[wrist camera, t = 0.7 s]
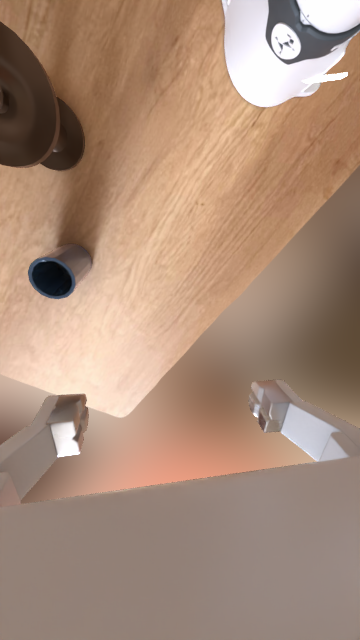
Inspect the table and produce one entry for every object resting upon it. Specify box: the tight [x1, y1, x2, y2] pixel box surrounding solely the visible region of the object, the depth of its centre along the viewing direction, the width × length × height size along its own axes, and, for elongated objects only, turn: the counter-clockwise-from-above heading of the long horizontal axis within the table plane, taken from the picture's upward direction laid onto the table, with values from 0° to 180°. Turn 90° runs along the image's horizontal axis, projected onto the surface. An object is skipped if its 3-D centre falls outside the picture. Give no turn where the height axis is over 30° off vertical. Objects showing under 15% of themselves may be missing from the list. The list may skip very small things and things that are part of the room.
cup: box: [28, 244, 92, 299], centre depth 38 cm, size 7×7×11 cm
